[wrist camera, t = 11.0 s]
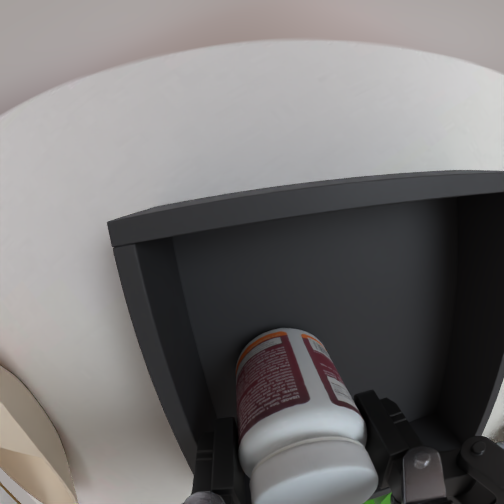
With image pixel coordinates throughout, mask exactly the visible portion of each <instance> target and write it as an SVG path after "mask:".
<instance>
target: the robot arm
mask: <svg viewBox="0 0 504 504" xmlns="http://www.w3.org/2000/svg"><path fill="white" fill-rule="evenodd" d="M354 403H355V405H356V406H357V408H358V410H359V412H360V414H361V416H362V417H363V419H364V421H365V423H366V427H367V442H366V446H365V449H366V451H367V452H368V454H369V456H370V458H371V461H372V463H373V465H374V467H375V470H376V472H377V475H378V484H379V486H380V489H383V488H386V487H390V489H391V492H392V493H391V497H390V504H504V449H503V448H501V447H500V446H499V445H497V444H496V443H494V442H493V441H491V440H490V439H488V438H486V437H484V436H473V437H470V438H469V439H467V440H466V441H465V442H464V443H463V444H462V447H461V448H457V449H452V450H446V451H437V450H436V449H434V448H433V447H430V446H425V445H424V444H423V443H422V441H421V440H420V438H419V437H418V435H417V434H416V432H415V430H414V429H413V427H412V426H411V424H410V423H409V422H408V420H406V417H405V416H404V414H403V413H402V411H401V410H400V408H399V407H398V405H397V404H396V403H395V402H393V401H392V400H390V399H388V398H387V397H386V398H383V399H379V398H378V396H377V394H376V393H375V391H374V390H368V391H365V392H361V393H358V394H355V395H354ZM183 504H245V485H244V471H243V469H242V467H241V465H240V462H239V458H238V433H237V425H236V421H235V418H234V417H226V418H216V419H215V426H214V431H208V432H204V433H203V434H202V436H201V437H200V439H199V440H198V443H197V453H196V462H195V470H194V479H193V489H192V493H191V495H190V496H189V497H188V498H187V499H186V500H185V502H184V503H183Z"/></svg>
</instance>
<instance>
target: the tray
mask: <svg viewBox="0 0 504 504" xmlns="http://www.w3.org/2000/svg"><path fill="white" fill-rule="evenodd" d="M107 225H108V230H109V235H110V239H111V244H112V247H114V248H113V252H114V256H115V260H116V265H117V269H118V273H119V277H120V281H121V285H122V288H123V292H124V296H125V299H126V303H127V306H128V310H129V313H130V317H131V320H132V323H133V327H134V330H135V333H136V336H137V339H138V342H139V345H140V348H141V351H142V354H143V357H144V360H145V363H146V366H147V368H148V371H149V374H150V377H151V379H152V382H153V385H154V387H155V390H156V392H157V395H158V397H159V400H160V402H161V405H162V407H163V410H164V412H165V415H166V417H167V419H168V422H169V424H170V426H171V428H172V431H173V433H174V435H175V437H176V440H177V442H178V444H179V446H180V448H181V450H182V452H183V454H184V456H185V458H186V461H187V463H188V465H189V467H190V469H191V471H192V472H193V474H194V470H195V462H196V453H197V443H198V440H199V439H200V437H201V436H202V434H203V433H204V432H208V431H214V426H215V419H216V418H226V417H234V418H235V421H236V425H237V401H236V398H237V397H236V364H237V361H238V358H239V356H240V354H241V352H242V350H243V349H244V348H245V346H246V345H247V344H248V343H249V342H251V341H252V340H253V339H254V338H256V337H258V336H259V335H261V334H263V333H265V332H268V331H271V330H274V329H279V328H293V329H299V330H302V331H306V332H308V333H310V334H312V335H313V336H315V337H316V338H317V339H318V340H319V341H320V342H321V343H322V344H323V346H324V347H325V349H326V351H327V353H328V354H329V356H330V358H331V360H332V362H333V364H334V366H335V368H336V369H337V371H338V373H339V375H340V377H341V379H342V381H343V383H344V385H345V386H346V388H347V390H348V392H349V394H350V395H351V397H352V399H353V401H354V395H355V394H358V393H361V392H365V391H368V390H374V391H375V393H376V394H377V396H378V398H379V399H383V398H386V397H387V398H388V399H390V400H392V401H393V402H395V403H396V404H397V405H398V407H399V408H400V410H401V411H402V413H403V414H404V416H405V417H406V420H408V422H409V423H410V424H411V426H412V427H413V429H414V430H415V432H416V434H417V435H418V437H419V438H420V440H421V441H422V443H423V444H424V445H425V446H430V447H433V448H434V449H436V450H437V451H446V450H452V449H457V448H461V447H462V444H463V443H464V442H465V441H466V440H467V439H469V438H470V437H473V436H481V435H482V433H483V431H484V428H485V426H486V424H487V422H488V419H489V417H490V414H491V412H492V409H493V407H494V404H495V401H496V399H497V396H498V393H499V390H500V387H501V384H502V381H503V378H504V171H483V170H449V171H430V172H413V173H399V174H387V175H375V176H364V177H353V178H344V179H334V180H325V181H316V182H308V183H300V184H292V185H285V186H277V187H270V188H263V189H256V190H250V191H243V192H237V193H230V194H224V195H218V196H212V197H206V198H200V199H195V200H189V201H184V202H178V203H173V204H168V205H162V206H157V207H153V208H150V209H147V210H143V211H140V212H137V213H133V214H130V215H127V216H124V217H121V218H118V219H114V220H111V221H108V222H107ZM249 484H250V478H249V477H248V476H247V475H246V474H245V472H244V485H245V504H252V501H251V492H250V487H249ZM389 493H391V489H390V487H386V488H383V489H380V486H379V484H378V486H377V489H376V490H375V492H374V493H373V494H372V496H371V497H370V498H369V499H368V500H371V499H374V498H377V497H380V496H383V495H386V494H389ZM368 500H367V501H368Z"/></svg>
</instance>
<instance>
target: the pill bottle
mask: <svg viewBox="0 0 504 504" xmlns="http://www.w3.org/2000/svg"><path fill="white" fill-rule="evenodd" d="M236 397H237V398H236V401H237V433H238V458H239V462H240V465H241V467H242V469H243V471H244V472H245V474H246V475H247V476H248V477H249V478H250V484H249V487H250V492H251V501H252V504H363V503H364V502H366V501H367V500H368V499H369V498H370V497H371V496H372V494H373V493H374V492H375V490H376V489H377V486H378V475H377V472H376V470H375V467H374V465H373V463H372V461H371V458H370V456H369V454H368V452H367V451H366V449H365V446H366V442H367V427H366V423H365V421H364V419H363V417H362V416H361V414H360V412H359V410H358V408H357V406H356V405H355V403H354V401H353V399H352V397H351V395H350V394H349V392H348V390H347V388H346V386H345V385H344V383H343V381H342V379H341V377H340V375H339V373H338V371H337V369H336V368H335V366H334V364H333V362H332V360H331V358H330V356H329V354H328V353H327V351H326V349H325V347H324V346H323V344H322V343H321V342H320V341H319V340H318V339H317V338H316V337H315V336H313V335H312V334H310V333H308V332H306V331H302V330H299V329H293V328H279V329H274V330H271V331H268V332H265V333H263V334H261V335H259V336H258V337H256V338H254V339H253V340H252V341H251V342H249V343H248V344H247V345H246V346H245V348H244V349H243V350H242V352H241V354H240V356H239V358H238V361H237V364H236Z"/></svg>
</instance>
